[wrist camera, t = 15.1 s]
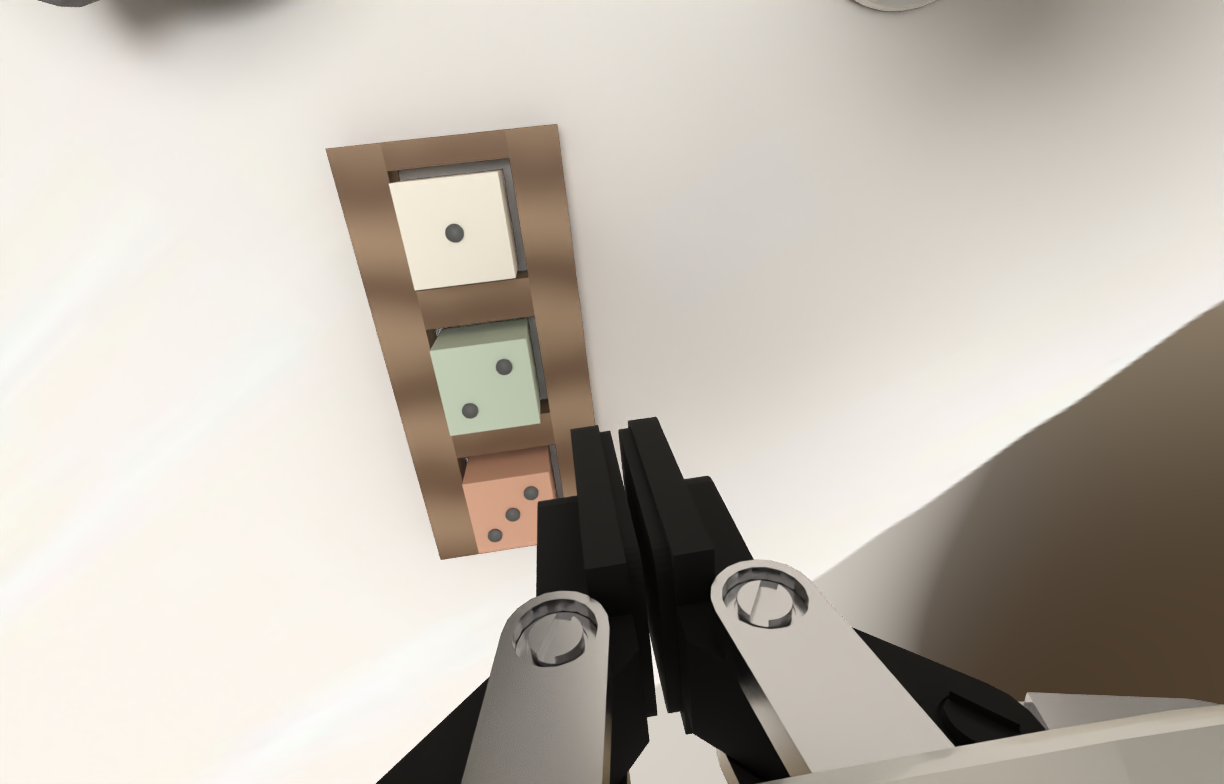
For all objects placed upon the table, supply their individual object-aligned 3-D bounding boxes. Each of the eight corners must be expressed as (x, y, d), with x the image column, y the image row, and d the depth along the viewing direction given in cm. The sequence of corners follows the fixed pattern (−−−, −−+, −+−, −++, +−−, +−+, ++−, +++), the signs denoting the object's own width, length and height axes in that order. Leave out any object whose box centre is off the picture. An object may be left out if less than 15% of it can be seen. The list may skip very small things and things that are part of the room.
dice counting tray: (340, 148, 34) (325, 148, 31) (556, 125, 35) (557, 123, 32) (445, 539, 45) (440, 559, 43) (605, 514, 46) (608, 533, 44)
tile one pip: (407, 179, 34) (387, 184, 30) (502, 169, 35) (497, 171, 30) (429, 274, 37) (413, 291, 32) (518, 263, 37) (515, 278, 33)
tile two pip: (441, 329, 38) (428, 352, 34) (527, 317, 38) (525, 339, 34) (459, 406, 40) (449, 437, 36) (540, 395, 41) (540, 424, 36)
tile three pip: (470, 451, 42) (461, 486, 37) (547, 440, 42) (548, 473, 38) (484, 515, 44) (478, 555, 40) (558, 504, 45) (560, 542, 40)
